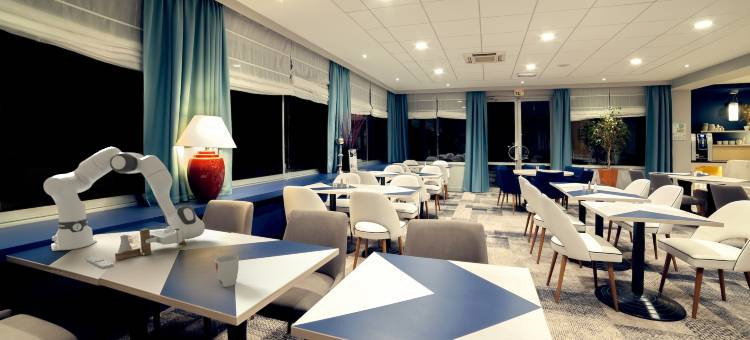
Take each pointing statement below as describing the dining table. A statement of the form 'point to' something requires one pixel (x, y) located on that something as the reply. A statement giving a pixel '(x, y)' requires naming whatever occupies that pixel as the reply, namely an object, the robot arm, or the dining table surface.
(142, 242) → the brown wooden l-shaped piece
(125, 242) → the flask
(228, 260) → the cup
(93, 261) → the broken grey strip
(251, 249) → the dining table surface
